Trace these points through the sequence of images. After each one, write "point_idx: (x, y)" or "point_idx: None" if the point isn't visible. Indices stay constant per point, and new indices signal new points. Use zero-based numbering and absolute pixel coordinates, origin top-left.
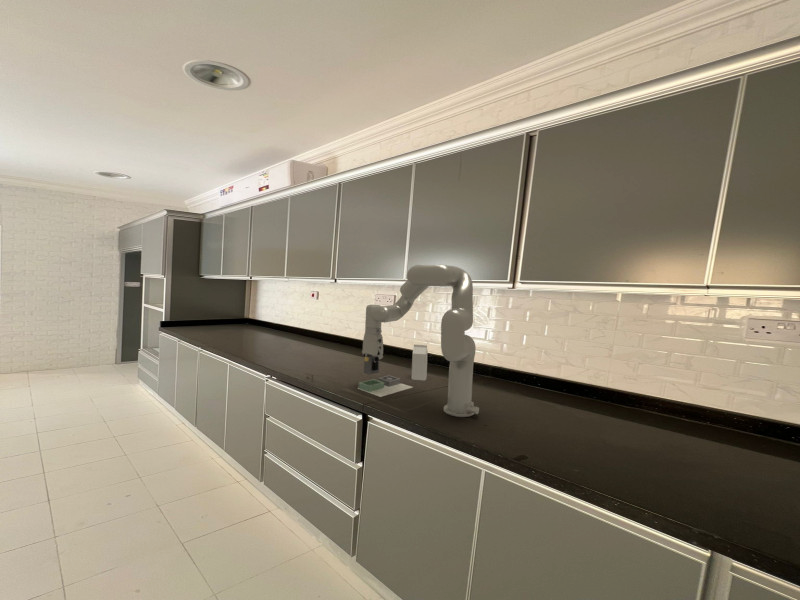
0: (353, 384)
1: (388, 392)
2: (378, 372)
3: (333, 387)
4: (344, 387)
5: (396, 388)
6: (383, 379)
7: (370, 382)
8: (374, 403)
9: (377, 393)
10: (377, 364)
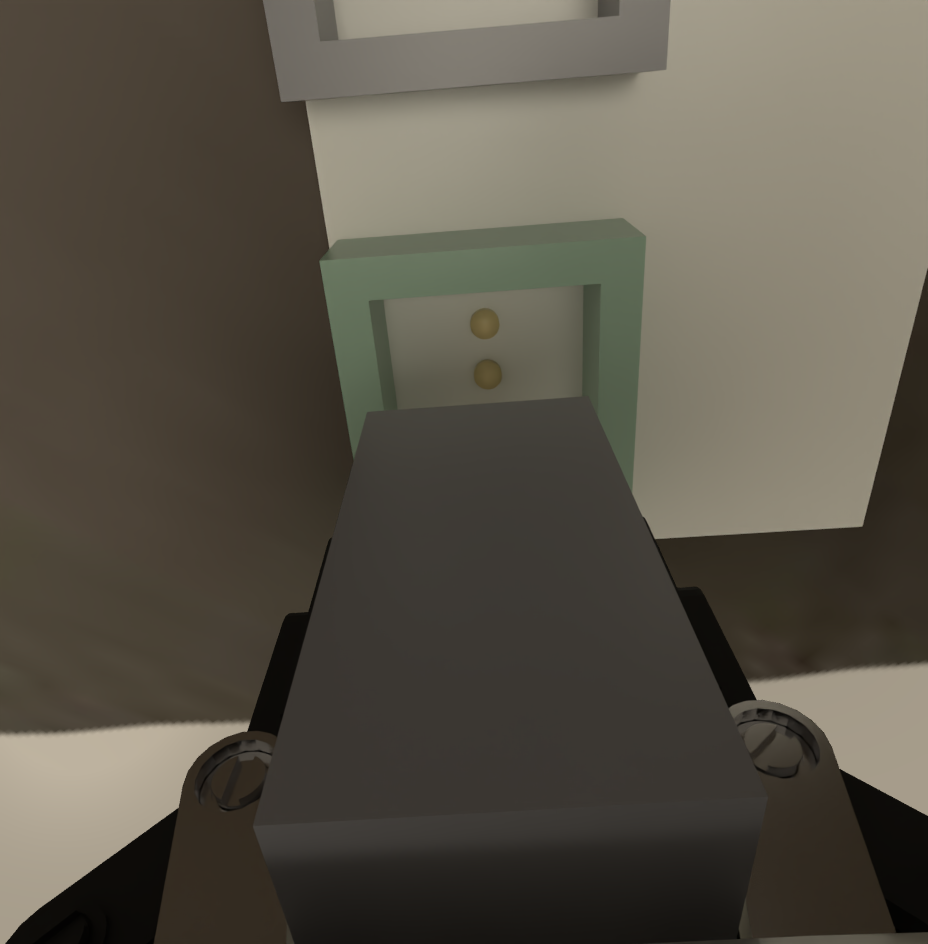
0: (84, 416)
1: (843, 322)
2: (586, 408)
3: (116, 660)
4: (171, 574)
5: (826, 25)
6: (448, 69)
7: (382, 363)
8: (866, 617)
9: (742, 477)
10: (738, 675)
